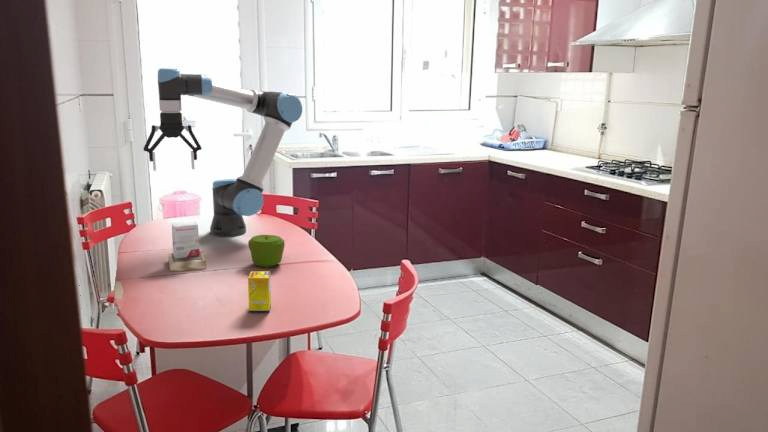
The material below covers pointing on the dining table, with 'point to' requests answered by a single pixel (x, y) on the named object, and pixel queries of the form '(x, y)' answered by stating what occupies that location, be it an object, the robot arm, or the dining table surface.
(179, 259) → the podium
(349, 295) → the dining table surface
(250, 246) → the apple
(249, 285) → the supplement box
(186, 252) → the ink box
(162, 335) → the dining table surface
